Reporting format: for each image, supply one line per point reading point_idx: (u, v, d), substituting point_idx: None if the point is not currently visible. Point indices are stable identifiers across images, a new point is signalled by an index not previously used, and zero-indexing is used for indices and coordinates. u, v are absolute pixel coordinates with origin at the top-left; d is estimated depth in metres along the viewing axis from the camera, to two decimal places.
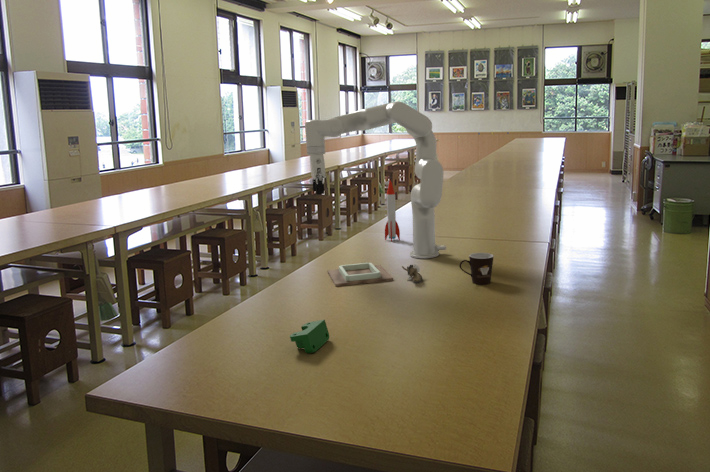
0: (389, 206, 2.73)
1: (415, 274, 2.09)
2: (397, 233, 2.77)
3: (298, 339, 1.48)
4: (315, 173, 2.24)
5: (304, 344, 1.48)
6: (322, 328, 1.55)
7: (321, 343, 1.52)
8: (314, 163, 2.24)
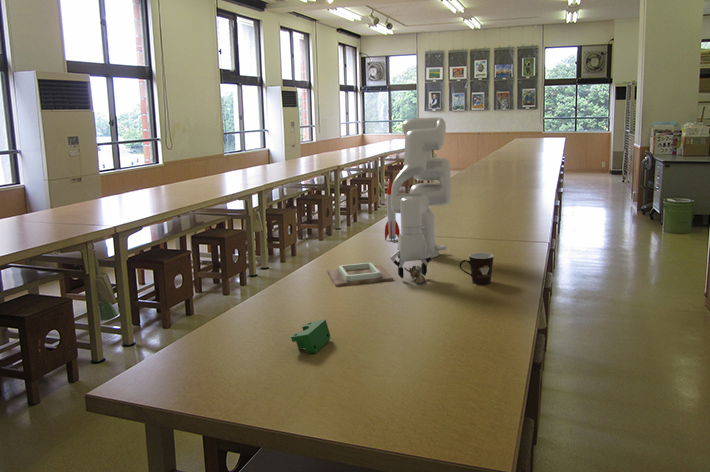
0: (389, 206, 2.73)
1: (418, 275, 2.07)
2: (397, 233, 2.77)
3: (299, 339, 1.48)
4: (425, 253, 2.08)
5: (305, 344, 1.48)
6: (323, 328, 1.55)
7: (322, 343, 1.52)
8: (425, 242, 2.07)
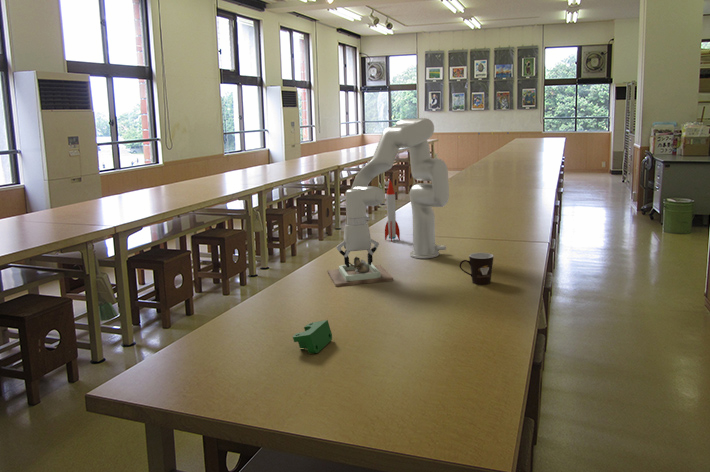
0: (389, 206, 2.73)
1: (362, 266, 2.15)
2: (397, 233, 2.77)
3: (301, 339, 1.48)
4: (370, 243, 2.15)
5: (307, 344, 1.47)
6: (325, 328, 1.54)
7: (324, 343, 1.52)
8: (369, 233, 2.14)
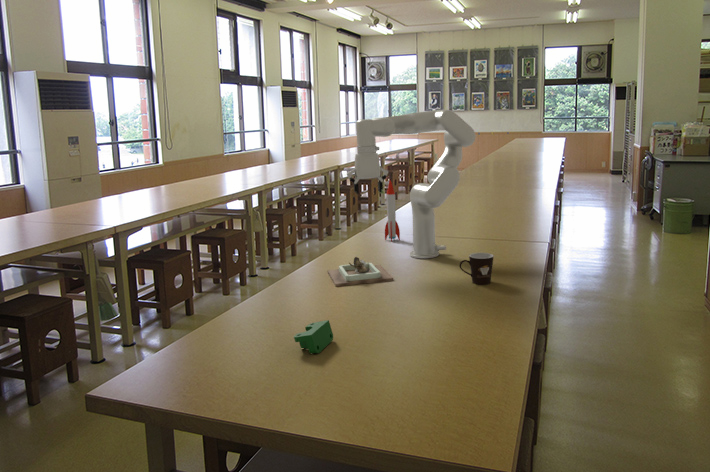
0: (389, 206, 2.73)
1: (361, 266, 2.15)
2: (397, 233, 2.77)
3: (302, 340, 1.48)
4: None
5: (308, 345, 1.47)
6: (326, 328, 1.54)
7: (325, 344, 1.52)
8: None
